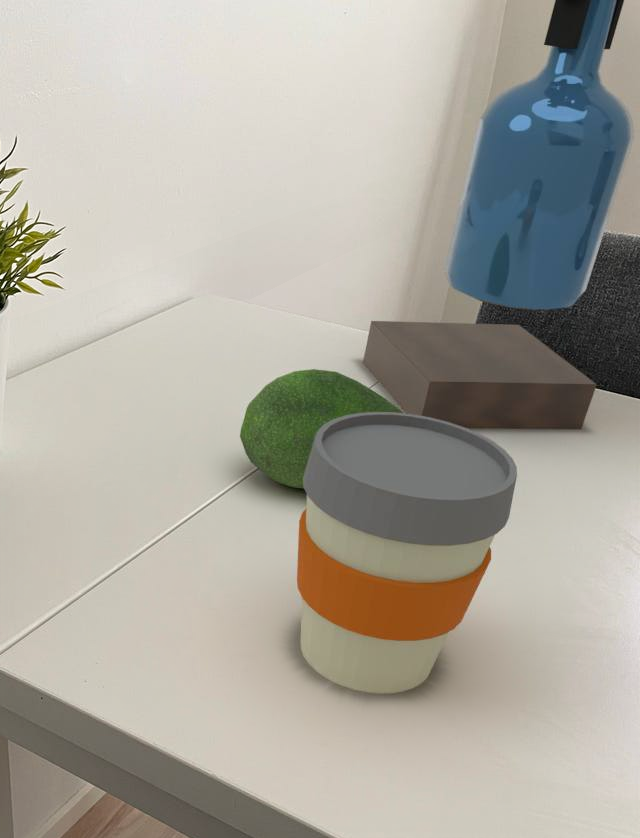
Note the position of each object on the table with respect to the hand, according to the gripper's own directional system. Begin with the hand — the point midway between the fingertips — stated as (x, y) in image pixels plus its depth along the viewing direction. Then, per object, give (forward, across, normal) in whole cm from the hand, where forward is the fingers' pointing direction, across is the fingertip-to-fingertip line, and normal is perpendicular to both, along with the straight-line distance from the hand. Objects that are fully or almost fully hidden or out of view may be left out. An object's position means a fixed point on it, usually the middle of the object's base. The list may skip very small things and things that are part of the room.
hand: (577, 46), depth 85 cm
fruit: (+34, +26, +2) cm, 43 cm away
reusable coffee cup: (+34, +42, +21) cm, 58 cm away
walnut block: (+34, -4, -4) cm, 34 cm away
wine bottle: (+21, 0, 0) cm, 21 cm away
